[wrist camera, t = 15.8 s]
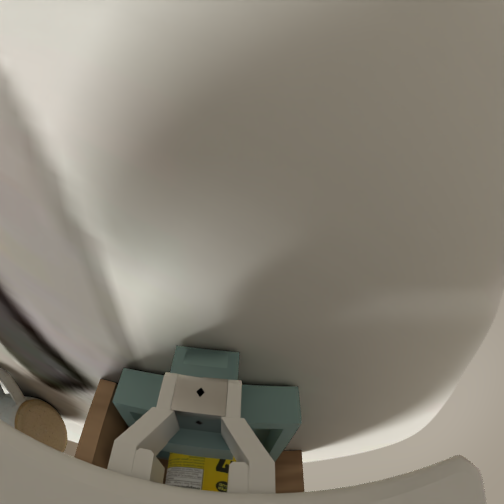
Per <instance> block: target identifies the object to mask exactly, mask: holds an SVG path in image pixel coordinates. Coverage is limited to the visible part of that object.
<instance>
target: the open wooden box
mask: <svg viewBox="0 0 504 504" xmlns="http://www.w3.org/2000/svg"><path fill="white" fill-rule="evenodd" d="M117 386H118V385H117V383H115V382H111V381H107V380H103V379H100V382H99V385H98V387H97V390H96V393H95V395H94V398H93V401H92V404H91V407H90V409H89V412H88V415H87V418H86V421H85V424H84V427H83V430H82V434H81V437H80V440H79V443H78V447H77V451H76V454H75V458H77V459H80V460H82V461H85V462H88V463H90V464H93V465H96V466H99V467H102V468H105V469H107V467H108V463H109V459H110V455H111V451H112V448H113V444H114V440H115V439H116V438H118V437H119V436H120V435H121V434H122V433H123V432H125V431H126V430H127V429H128V428H129V426H128V425H127V423H126V422H125V420H124V419H123V417H122V416H121V414H120V413H119V411H118V410H117V408H116V407H115V405H114V403H113V402H112V401H113V398H114V395H115V392H116V389H117ZM157 459H158V460H159V461H160V463H161V464H162V465H163V467H164V468H165V471H164V478H163V484H165V481H166V474H167V468H168V461H169V460H165V459H160V458H157ZM297 492H304V481H303V465H302V452H301V450H296V451H283V452H282V453H281V454H280V456H279V457H278V458H277V460H276V461H275V493H297Z"/></svg>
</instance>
